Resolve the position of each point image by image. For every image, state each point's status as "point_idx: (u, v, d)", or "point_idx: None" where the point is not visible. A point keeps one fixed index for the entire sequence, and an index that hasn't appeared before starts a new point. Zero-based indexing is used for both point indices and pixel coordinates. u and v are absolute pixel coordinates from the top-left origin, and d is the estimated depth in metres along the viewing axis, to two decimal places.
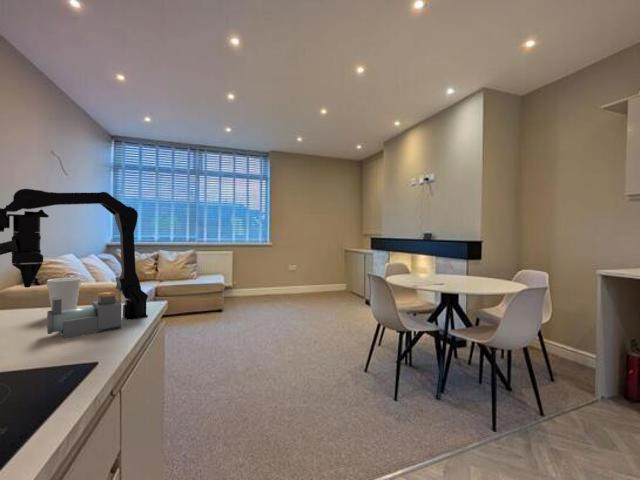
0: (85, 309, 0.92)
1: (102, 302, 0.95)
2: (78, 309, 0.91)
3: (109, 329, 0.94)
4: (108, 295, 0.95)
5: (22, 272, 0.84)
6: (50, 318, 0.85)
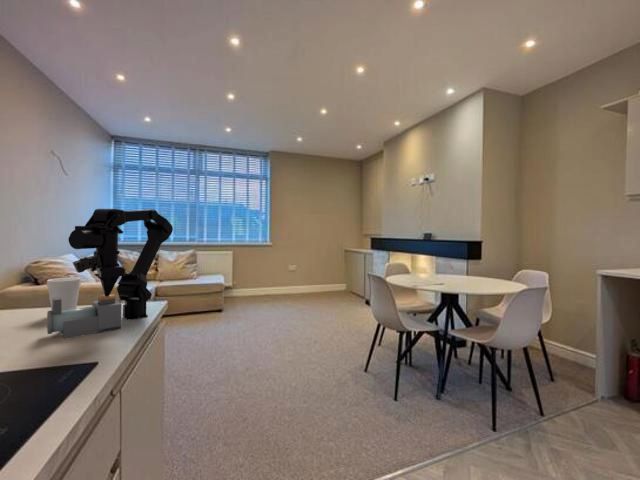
0: (85, 309, 0.92)
1: None
2: (78, 309, 0.91)
3: (109, 329, 0.94)
4: (108, 298, 0.95)
5: (104, 283, 0.95)
6: (50, 318, 0.85)
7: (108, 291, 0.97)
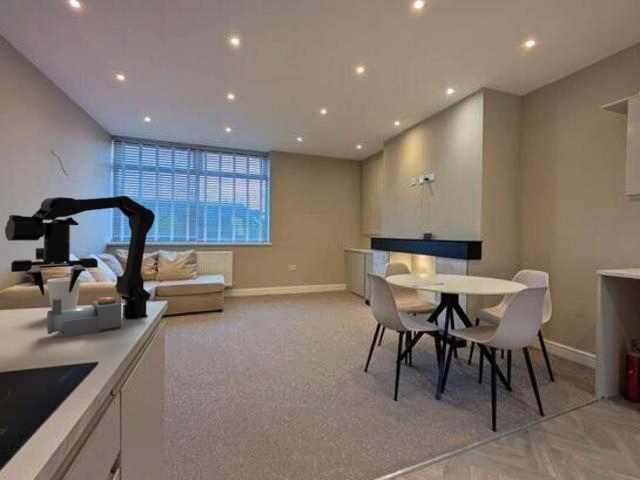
0: (85, 309, 0.92)
1: None
2: (78, 309, 0.91)
3: (109, 329, 0.94)
4: (108, 300, 0.95)
5: None
6: (50, 318, 0.85)
7: (40, 289, 0.85)
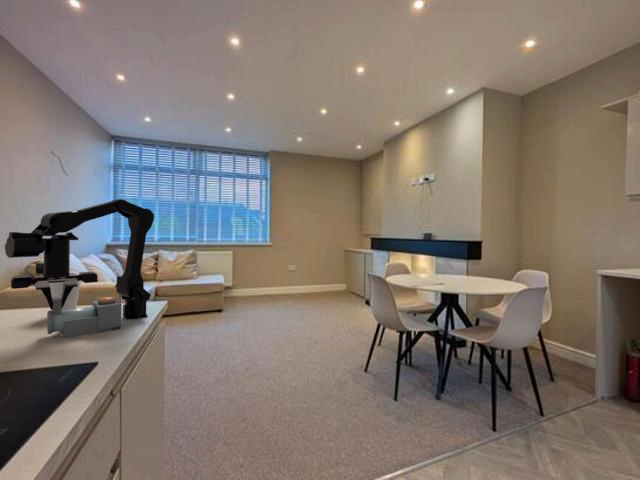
0: (86, 309, 0.92)
1: None
2: (78, 309, 0.91)
3: (109, 329, 0.94)
4: (108, 300, 0.95)
5: None
6: (50, 318, 0.85)
7: None
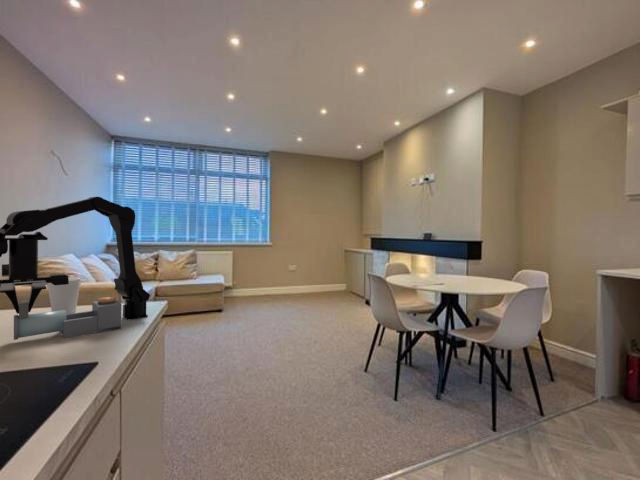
0: (56, 313, 0.87)
1: None
2: (47, 313, 0.86)
3: (109, 329, 0.94)
4: (108, 300, 0.95)
5: None
6: (15, 323, 0.80)
7: None
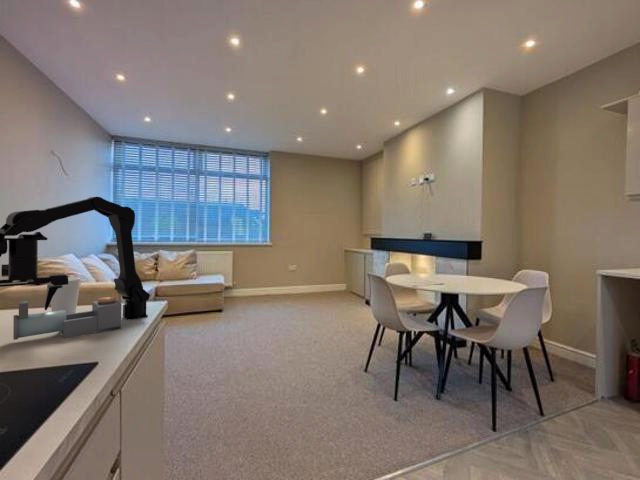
0: (55, 313, 0.87)
1: None
2: (47, 313, 0.86)
3: (109, 329, 0.94)
4: (108, 300, 0.95)
5: None
6: (15, 323, 0.80)
7: None
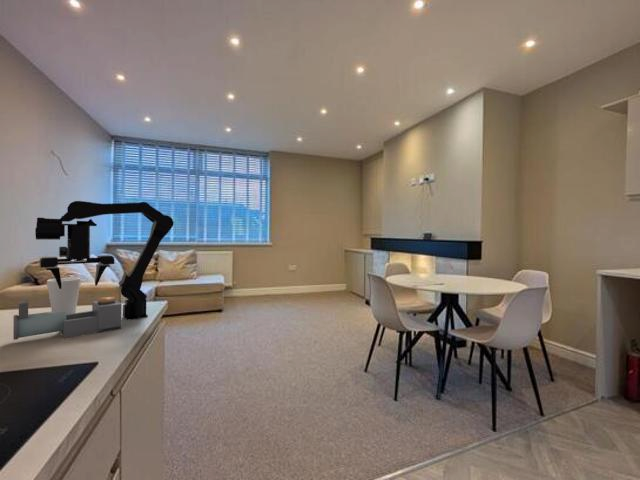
0: (55, 313, 0.87)
1: None
2: (47, 313, 0.86)
3: (109, 329, 0.94)
4: (108, 300, 0.95)
5: (53, 274, 0.95)
6: (15, 323, 0.80)
7: None
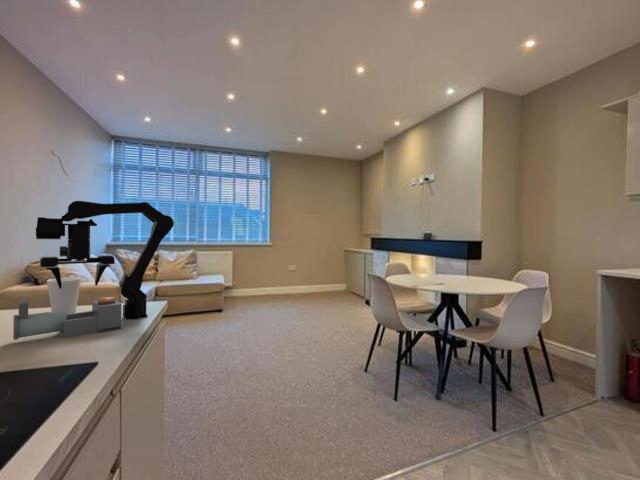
0: (55, 313, 0.87)
1: None
2: (47, 313, 0.86)
3: (109, 329, 0.94)
4: (108, 300, 0.95)
5: None
6: (15, 323, 0.80)
7: None
